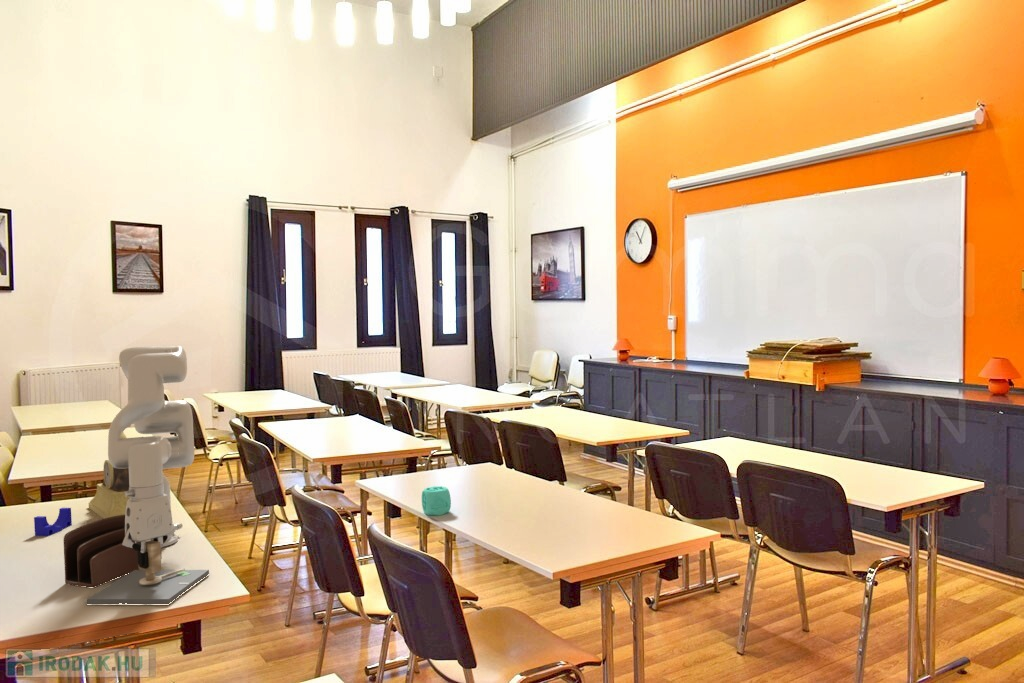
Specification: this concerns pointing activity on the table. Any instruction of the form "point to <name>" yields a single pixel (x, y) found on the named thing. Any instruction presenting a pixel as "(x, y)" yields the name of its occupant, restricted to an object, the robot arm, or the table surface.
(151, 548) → the tuning knob
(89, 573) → the letter holder
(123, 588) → the dial board
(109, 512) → the decorative clock
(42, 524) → the cable clip
